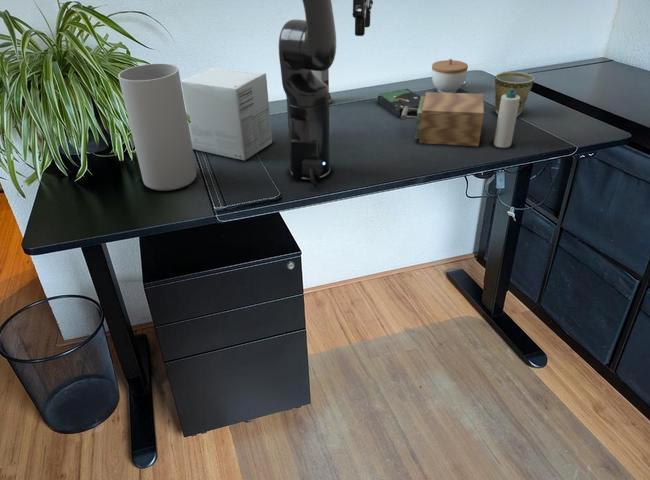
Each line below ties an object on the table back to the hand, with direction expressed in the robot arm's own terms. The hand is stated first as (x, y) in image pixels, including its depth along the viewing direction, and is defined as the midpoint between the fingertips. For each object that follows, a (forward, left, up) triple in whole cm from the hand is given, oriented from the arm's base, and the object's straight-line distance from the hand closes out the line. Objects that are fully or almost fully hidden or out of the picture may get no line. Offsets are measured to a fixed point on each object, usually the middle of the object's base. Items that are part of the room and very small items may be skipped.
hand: (362, 31), depth 130 cm
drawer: (+4, -19, -25) cm, 32 cm away
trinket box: (+40, -21, -26) cm, 52 cm away
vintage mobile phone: (+24, +16, -26) cm, 39 cm away
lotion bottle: (-1, -36, -26) cm, 44 cm away
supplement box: (-12, +32, -26) cm, 43 cm away
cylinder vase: (-33, +40, -26) cm, 58 cm away
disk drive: (+23, -9, -26) cm, 36 cm away
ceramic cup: (+23, -39, -26) cm, 52 cm away
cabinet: (+4, -23, -26) cm, 35 cm away
